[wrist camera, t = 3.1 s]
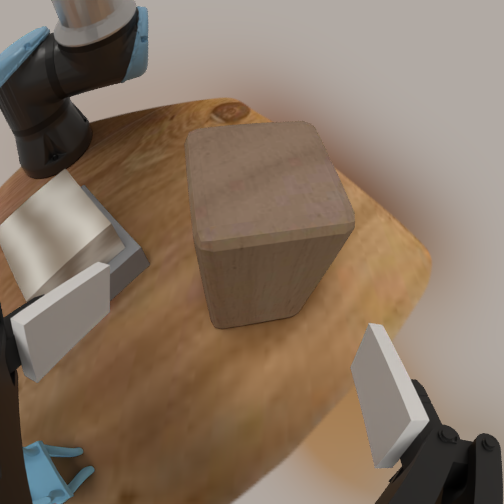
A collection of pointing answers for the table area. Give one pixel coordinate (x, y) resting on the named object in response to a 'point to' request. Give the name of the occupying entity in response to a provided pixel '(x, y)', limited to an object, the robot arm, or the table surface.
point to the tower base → (122, 254)
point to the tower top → (56, 237)
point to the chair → (50, 473)
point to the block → (263, 217)
